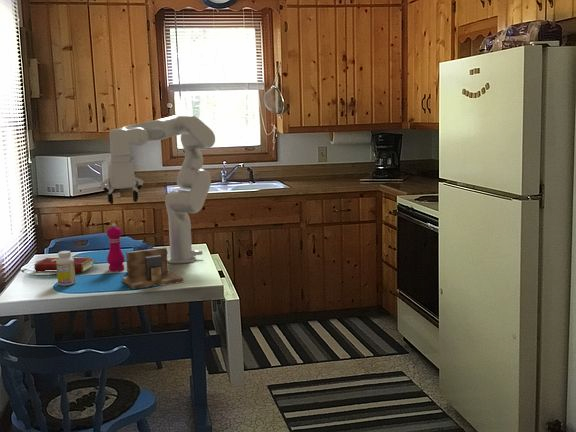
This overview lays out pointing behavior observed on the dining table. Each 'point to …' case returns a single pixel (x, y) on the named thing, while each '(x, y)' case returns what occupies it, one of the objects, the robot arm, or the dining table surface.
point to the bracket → (152, 265)
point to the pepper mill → (115, 249)
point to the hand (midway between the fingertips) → (123, 202)
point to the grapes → (141, 247)
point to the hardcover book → (50, 264)
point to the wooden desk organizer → (138, 273)
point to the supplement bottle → (65, 269)
